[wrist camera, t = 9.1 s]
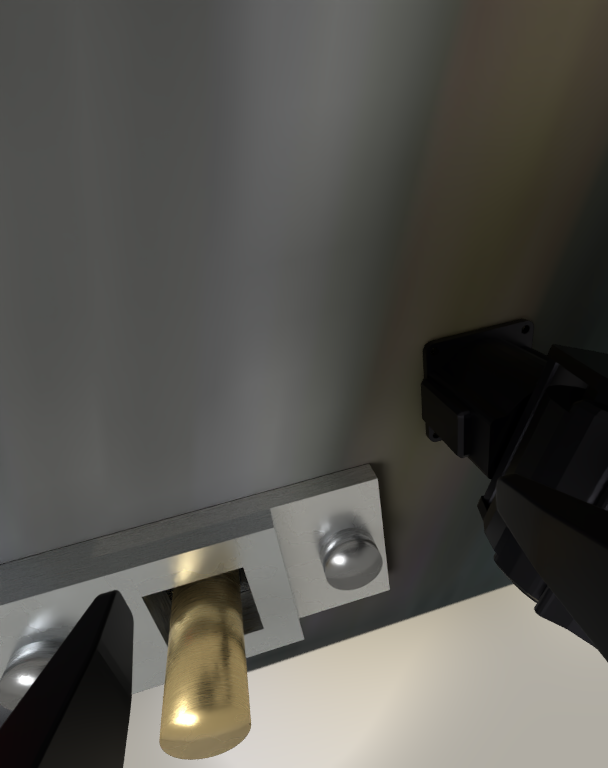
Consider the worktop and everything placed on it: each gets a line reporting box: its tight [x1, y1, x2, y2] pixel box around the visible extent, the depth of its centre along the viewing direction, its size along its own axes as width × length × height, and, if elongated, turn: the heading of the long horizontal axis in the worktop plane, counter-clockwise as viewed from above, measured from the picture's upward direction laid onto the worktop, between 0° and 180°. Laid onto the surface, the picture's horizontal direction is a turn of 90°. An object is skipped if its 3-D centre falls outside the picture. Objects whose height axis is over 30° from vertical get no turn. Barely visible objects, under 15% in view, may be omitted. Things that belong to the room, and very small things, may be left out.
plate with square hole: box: [0, 464, 390, 711], centre depth 25 cm, size 23×10×4 cm, turn 100°
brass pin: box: [160, 569, 251, 760], centre depth 23 cm, size 4×4×9 cm
